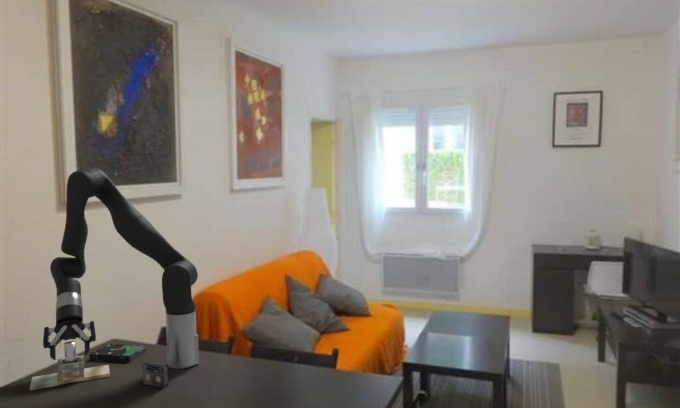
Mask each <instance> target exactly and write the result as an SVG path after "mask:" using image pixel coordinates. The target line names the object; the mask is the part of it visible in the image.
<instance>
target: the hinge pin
mask: <svg viewBox="0 0 680 408" xmlns="http://www.w3.org/2000/svg"><path fill="white" fill-rule="evenodd" d="M63 344H64V345H63V346H64V347H63V348H64V358H65V364H68V363H74V362H76V356H77V351H76V350H77V349H76V348H77V347H76V346H77V345H76V341H74V340H73V341H72V340H71V341H69V340H68V341H66V342H64V343H63Z"/></svg>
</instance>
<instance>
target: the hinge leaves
mask: <svg viewBox="0 0 680 408" xmlns="http://www.w3.org/2000/svg"><path fill="white" fill-rule="evenodd" d="M84 357H85V354H82V355H76V362H74V363H68V364H65V357H62V358H58V359H57V364H56V369H57V371H56V372H55V373H50V374H43V375H37V376H32V377H31V381H30V385H29V390H30V391H34V390H41V389H45V388H52V387H57V386H60V385H65V384H70V383H78V382H83V381H84V382H86V381H91V380H92V381H93V380H98V379H104V378H109V377H111V372H110V365H109V364H104V365H97V366H92V367H85V361H84V360H85V359H84Z"/></svg>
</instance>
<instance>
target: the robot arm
mask: <svg viewBox="0 0 680 408" xmlns="http://www.w3.org/2000/svg"><path fill="white" fill-rule="evenodd" d="M66 182H67V183H66V206H65V207H66V208H65V209H66V210H65V214H66V217H65V225H64V231H63V235H62V240H61V245H60V250H61V252H62V253H64V254H66V255H68V256H71V257H64V256H57V257H55V258H54V259H53V260H51V262H50V266H49V269H50V274H51V277H52V279H53V281H54V285H55V289H56V302H55V326H54V327H50V328H49V326H45V327H44V329H43V338H42V346H43V349H49V357H50V359H52V360H53V361H55V360H56V359H57V358H56V354H57V353H56V351H57V350H56V347H57V346H58V345H59V344H60V343H61V342H62V341H63V340H64V341H69V340H76V339H77V338H78V340H80V341H82V342H83V343H84V356H88V354H90V353H91V350H90V349H91V347H90V346H91V345H90V344H91V343H92V342H95V341H96V340H97V339H96V338H97V335H96V328H95V321H93V320H91V321H90V322H87V323H84V312H83V311H84V310H83V309H84V307H83V301H82V285H81V282H80V281H79V280H78V279H80V278H82V277H84V275H85V274H86V271H87V269H86V268H87V266H86V259H85V249H86V243H87V239H88V234H89V226H88V224H87V220H86V217H85V209H86V206H87V203H88V201H89V199H90V198H93V197H95V198H96V199H98V200H99V201H100V202H101V203H102V204H103V205H104V206H105V208H107V209H108V211H109V214H110V217H111V221H112V224H113V226H114V229H115V230H116V232H117V233H118V234H119V236H120V237H121V238H123V240H124V241H125V242H126V243H127V244H128V245H129V246H131V247H132V248H133V249H134V250H137V251H138V252H139V253H141V254H143V255H145V256H147V257H149V258H150V259H152V260H153V261H155V262H156V263H157V264H158V265H159V266H160V267H161V268H162V269H163V272H162V276H161V291H162V301H163V302H162V303H163V306H164V308H165V325H166V327H165V328H166V330H165V331H166V361H167V368H171V369H176V370H177V369H186V368H190V367H193V366H195V365H199V363H200V362H199V335H198V334H197V315H196V314H197V313H196V309H197V307H196V302H195V300H193V296H192V286H194V285H195V284H196V282H197V280H198V278H199V273H198V270H197V267H196V266H195V264H194V263H193V262H192V261H190V260H189V259H187V257H185V256H184V255H183V254H181V253H180V252H179V250H177V249H175V247H174V246H172V245H171V244H170V243H169V242H168V241H167V239H166V238H165V237H164V236H163V235H162V234H161V233H160V232H159V230H157V229H156V228H155V227H154V225H153V224H152V223H151V222H150V221H149V220H148V219H147V218H146V217H145V216H144V215H143V214H142V213H141V212H139V211H138V210H137V208H136V207H135V206H134V205H133V204H132V203H131V202H130V201H129V199H127V198H126V197H125V196H124V195H123V194H122V193H121V190H119V189H118V187H117V186H116V185H115V183H113V181H112V180H111V178H110V177H109V176H108V175H107V173H105V172H104V171H103V170H101V169H100V168H97V167H87V168H84V169H79V170H78V169H77V170H76V171H73V172H72V173H70V175H69V176H68V178H67V181H66ZM85 329H87V330H88V331H90V336H88V335H87V334H86V333H85V332H84V330H85ZM53 333H54V334H55V336H54V338H53V339H52V340H51V341H50V339H49V338H50V336H52V334H53ZM56 361H57V360H56Z"/></svg>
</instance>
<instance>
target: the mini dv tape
mask: <svg viewBox="0 0 680 408" xmlns="http://www.w3.org/2000/svg"><path fill="white" fill-rule="evenodd" d="M141 367H142V370H141V371H142V384H144V385H149V386H154V387H158V388H162V389H165V388H166V387H168V386H169V383H168V382H169V380H168V379H169V377H168V366H165V365H161V364H154V363H150V362H142V365H141Z"/></svg>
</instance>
